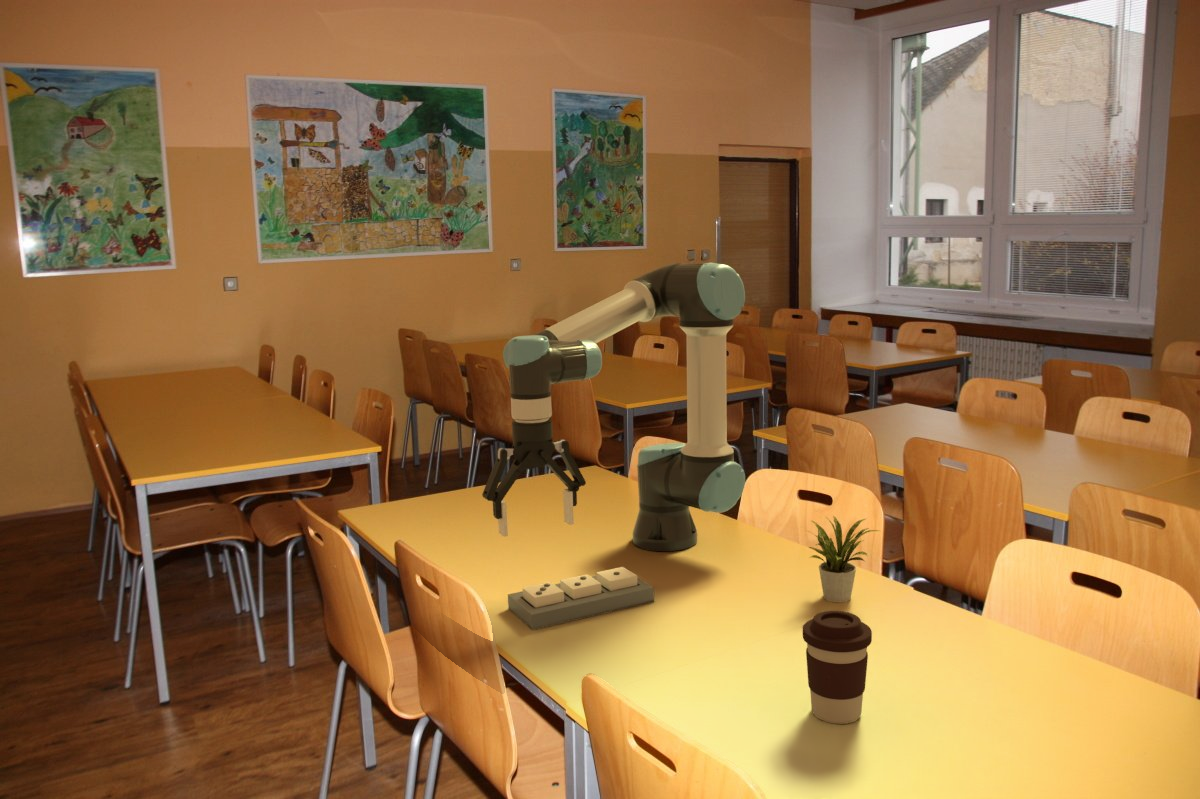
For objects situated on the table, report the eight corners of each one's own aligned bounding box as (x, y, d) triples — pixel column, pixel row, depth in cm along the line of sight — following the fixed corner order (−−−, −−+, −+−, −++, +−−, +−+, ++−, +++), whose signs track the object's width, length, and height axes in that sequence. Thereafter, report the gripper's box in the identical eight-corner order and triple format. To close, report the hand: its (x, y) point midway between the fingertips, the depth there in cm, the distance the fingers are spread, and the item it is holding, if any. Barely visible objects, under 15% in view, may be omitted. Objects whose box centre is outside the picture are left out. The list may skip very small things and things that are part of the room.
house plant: (887, 589, 194) (888, 510, 191) (875, 614, 182) (876, 530, 179) (815, 580, 200) (815, 504, 197) (799, 605, 188) (799, 523, 185)
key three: (551, 591, 191) (550, 580, 191) (564, 601, 186) (563, 590, 185) (523, 597, 188) (522, 586, 188) (535, 607, 183) (534, 596, 183)
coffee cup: (794, 700, 150) (794, 608, 148) (857, 695, 151) (858, 603, 149) (813, 732, 141) (814, 634, 138) (880, 727, 141) (882, 629, 139)
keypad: (625, 583, 202) (624, 569, 202) (654, 601, 192) (653, 587, 191) (508, 608, 191) (507, 594, 190) (532, 630, 180) (531, 614, 180)
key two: (587, 583, 195) (587, 573, 194) (601, 593, 189) (601, 582, 189) (560, 589, 192) (560, 578, 192) (573, 599, 187) (573, 588, 186)
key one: (623, 576, 198) (622, 565, 198) (637, 585, 193) (637, 574, 193) (596, 581, 196) (596, 571, 195) (610, 591, 190) (610, 580, 190)
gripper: (583, 408, 190) (587, 513, 194) (461, 423, 179) (467, 534, 183) (600, 414, 184) (604, 523, 187) (475, 430, 173) (481, 545, 176)
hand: (536, 528), depth 185 cm, fingers open, 13 cm apart
